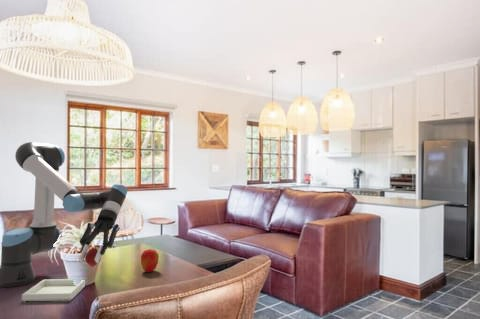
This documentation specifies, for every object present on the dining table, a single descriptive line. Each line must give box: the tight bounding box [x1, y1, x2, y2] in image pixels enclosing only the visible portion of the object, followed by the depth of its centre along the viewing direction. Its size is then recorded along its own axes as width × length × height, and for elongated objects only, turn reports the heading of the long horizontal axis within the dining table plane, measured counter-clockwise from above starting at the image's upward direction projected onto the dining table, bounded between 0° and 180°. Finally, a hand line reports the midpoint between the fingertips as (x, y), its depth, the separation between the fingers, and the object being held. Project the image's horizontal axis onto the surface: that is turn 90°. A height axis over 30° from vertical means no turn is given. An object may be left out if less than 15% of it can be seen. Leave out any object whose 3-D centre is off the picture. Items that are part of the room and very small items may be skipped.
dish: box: [21, 278, 86, 303], centre depth 139 cm, size 18×18×3 cm
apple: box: [140, 249, 160, 273], centre depth 172 cm, size 9×9×12 cm
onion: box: [84, 246, 102, 268], centre depth 134 cm, size 6×6×8 cm
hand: (88, 260), depth 130 cm, fingers closed on onion, 6 cm apart
